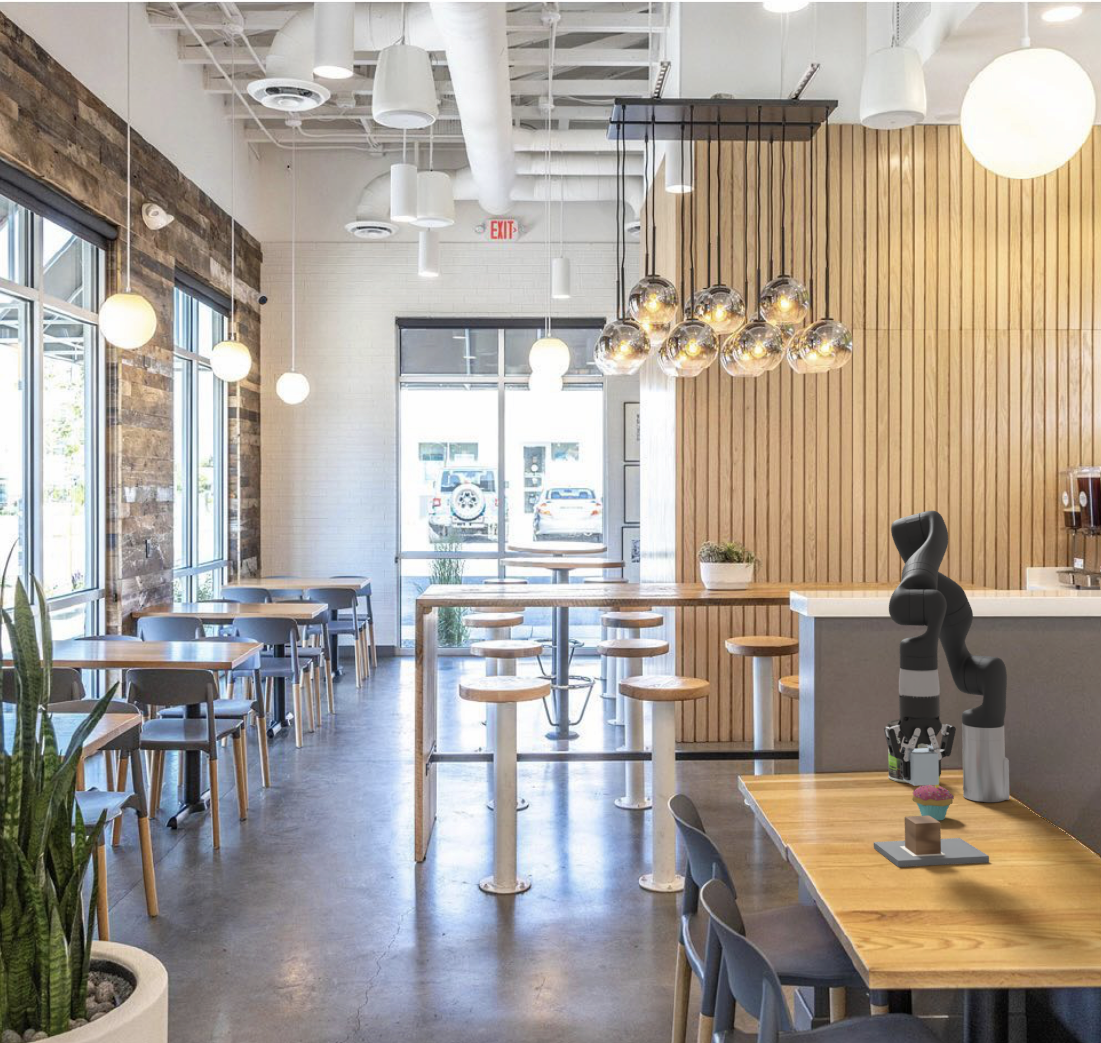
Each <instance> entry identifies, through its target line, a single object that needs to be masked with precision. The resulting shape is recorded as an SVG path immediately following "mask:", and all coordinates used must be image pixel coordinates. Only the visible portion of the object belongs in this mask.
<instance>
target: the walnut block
mask: <svg viewBox="0 0 1101 1043" xmlns="http://www.w3.org/2000/svg"><path fill="white" fill-rule="evenodd" d="M941 834H942V833H941V821H940V820H939V821H937V820H935V819H934V818H932V817H931V816H921V815H914V816H913V815H912V816H911V815H910V816H904V841H905V847H906V848H907V849H909V850H910V851H911V852H913V853H914V854H916V855H922V854H941V839H942V836H941Z"/></svg>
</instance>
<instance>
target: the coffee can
mask: <svg viewBox="0 0 1101 1043" xmlns="http://www.w3.org/2000/svg"><path fill="white" fill-rule="evenodd" d="M899 720H900V718H899V719H892V720H889V721H887V722H886V723H887V727H892V726H896V725H898V722H899ZM903 737H904V736H903V735H902V733H901V732H900V731H899V732H898V737H897V742H898V746H899V750H901V743H902V740H903ZM887 748H888V747H887ZM919 748H928V747H927V746H926V744H919V745H915V748H914V749H919ZM887 751H888V779H889V780H891V781H893V782H894V781H895V782H897V783H904V784H905V783H906V784H909V783H908V782H907V781H905V780H903V777H902V776H901V774H900V759H897V758H895V757H893V756H891V755H890V752H889V748H888V749H887Z"/></svg>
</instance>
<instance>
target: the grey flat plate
mask: <svg viewBox="0 0 1101 1043" xmlns="http://www.w3.org/2000/svg"><path fill="white" fill-rule="evenodd" d="M873 849H874V850H876V851H877V852H878V853H879V854H880V855H881V856H883V857H885V858H886V859H887V860H888V861H890V862H891V863H893V865H895V866H897V867H898V868H903V867H904V868H905V867H906V868H907V867H921V866H922V867H924V866H942V865H944V866H945V865H961V864H962V865H963V864H965V865H966V864H982V863H983V864H984V863H985V864H986V863H990V856H989V855H988V854H986V853H985V852H984V851H982V850H980V849H978V848H977V847H975V846H973V845H972V844H970V843H969V842H967V841H965V840H964V839H963V838H960V837H950V838H941V854H922V855H916V854H914V853H913V852H911V851H910V850H909V849H907V848H906V847H905V840H892V841H891V840H886V841H873Z"/></svg>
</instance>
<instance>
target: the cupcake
mask: <svg viewBox="0 0 1101 1043" xmlns="http://www.w3.org/2000/svg"><path fill="white" fill-rule="evenodd" d="M940 780H941V775H940V776H939V783H940V782H941V781H940ZM953 800H954V795H953V794H952V793H951V792H950V791H949V790H948V789H947V788H945V787H944V786H941V785H940V784H939V785H919V786H918V787H917V788H915V789H914V790H913V792H912V798H911V801H913V802H914V803H916V806H917V807H918V809H919V813H920V816H931V817H932V818H934V819H935V820H937V821H939V822H940V821H944V820H945V818H946V815H947V813H948V809H949V807H950V806H951V805H952V804H953Z"/></svg>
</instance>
